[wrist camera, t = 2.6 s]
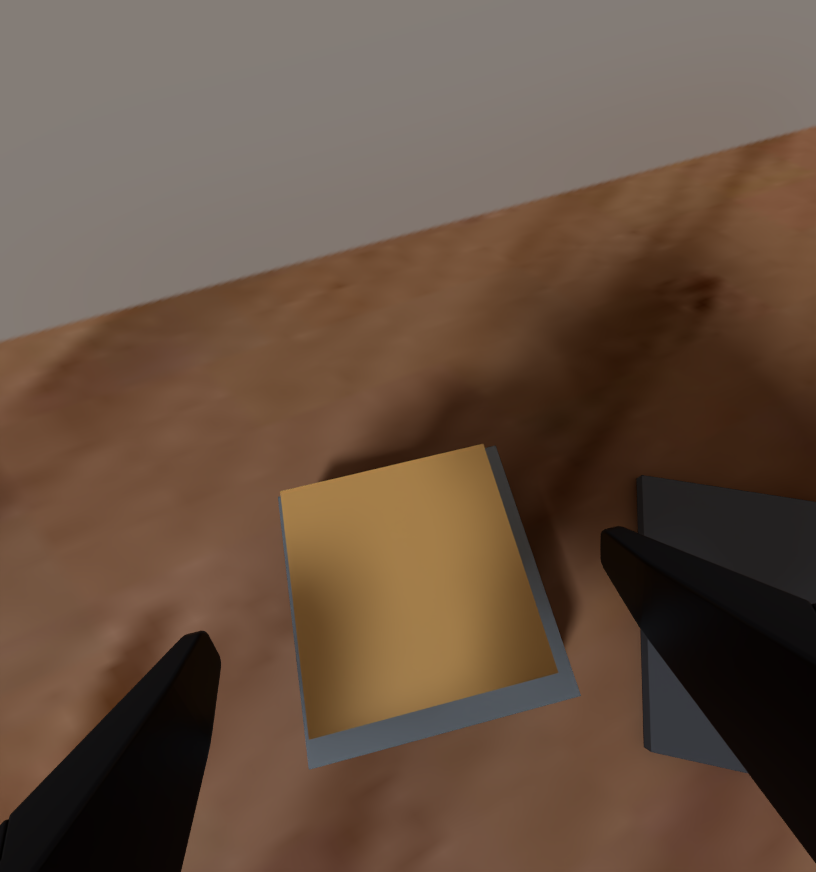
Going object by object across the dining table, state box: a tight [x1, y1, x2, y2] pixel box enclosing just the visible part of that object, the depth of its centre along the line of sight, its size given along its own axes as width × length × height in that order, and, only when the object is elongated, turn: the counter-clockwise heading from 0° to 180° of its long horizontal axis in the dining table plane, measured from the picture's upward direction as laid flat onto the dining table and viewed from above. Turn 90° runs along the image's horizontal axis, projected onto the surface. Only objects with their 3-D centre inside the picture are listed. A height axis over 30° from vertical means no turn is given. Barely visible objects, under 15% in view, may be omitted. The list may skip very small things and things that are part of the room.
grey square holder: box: [278, 446, 581, 769], centre depth 15 cm, size 8×8×3 cm
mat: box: [637, 475, 816, 773], centre depth 16 cm, size 10×10×1 cm
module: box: [280, 444, 559, 740], centre depth 12 cm, size 4×4×10 cm
